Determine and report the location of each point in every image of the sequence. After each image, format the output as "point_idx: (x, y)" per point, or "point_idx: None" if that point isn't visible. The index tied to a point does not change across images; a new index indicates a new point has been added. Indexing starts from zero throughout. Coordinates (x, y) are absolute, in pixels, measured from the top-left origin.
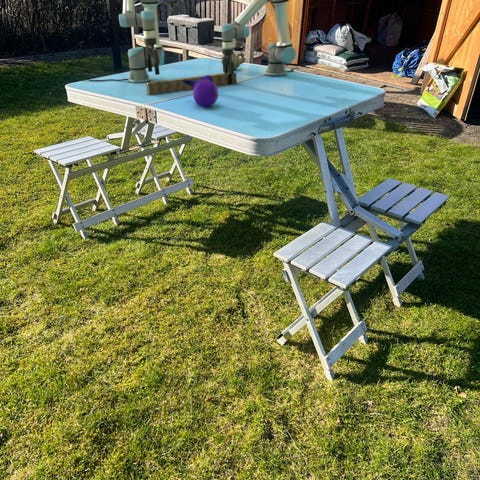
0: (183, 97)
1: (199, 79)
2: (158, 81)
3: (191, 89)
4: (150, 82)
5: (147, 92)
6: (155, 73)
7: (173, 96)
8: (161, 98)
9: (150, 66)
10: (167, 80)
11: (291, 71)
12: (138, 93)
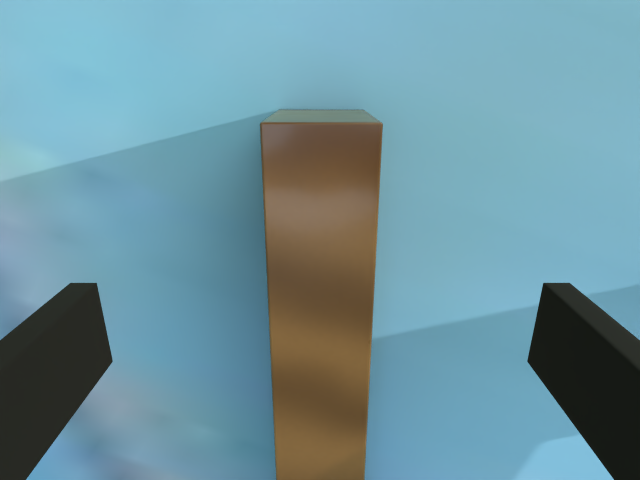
0: None
1: None
2: (327, 307)
3: None
4: (325, 183)
5: (353, 110)
6: (55, 297)
7: None
8: (52, 169)
9: (598, 412)
10: (320, 419)
11: None
12: (465, 15)
